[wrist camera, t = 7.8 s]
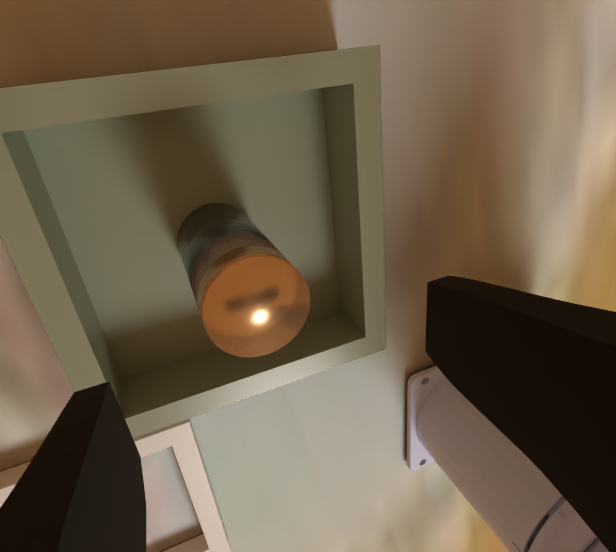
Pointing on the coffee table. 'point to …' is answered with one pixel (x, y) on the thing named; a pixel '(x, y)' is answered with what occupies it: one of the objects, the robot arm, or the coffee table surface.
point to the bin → (180, 203)
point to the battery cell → (241, 282)
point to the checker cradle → (214, 542)
